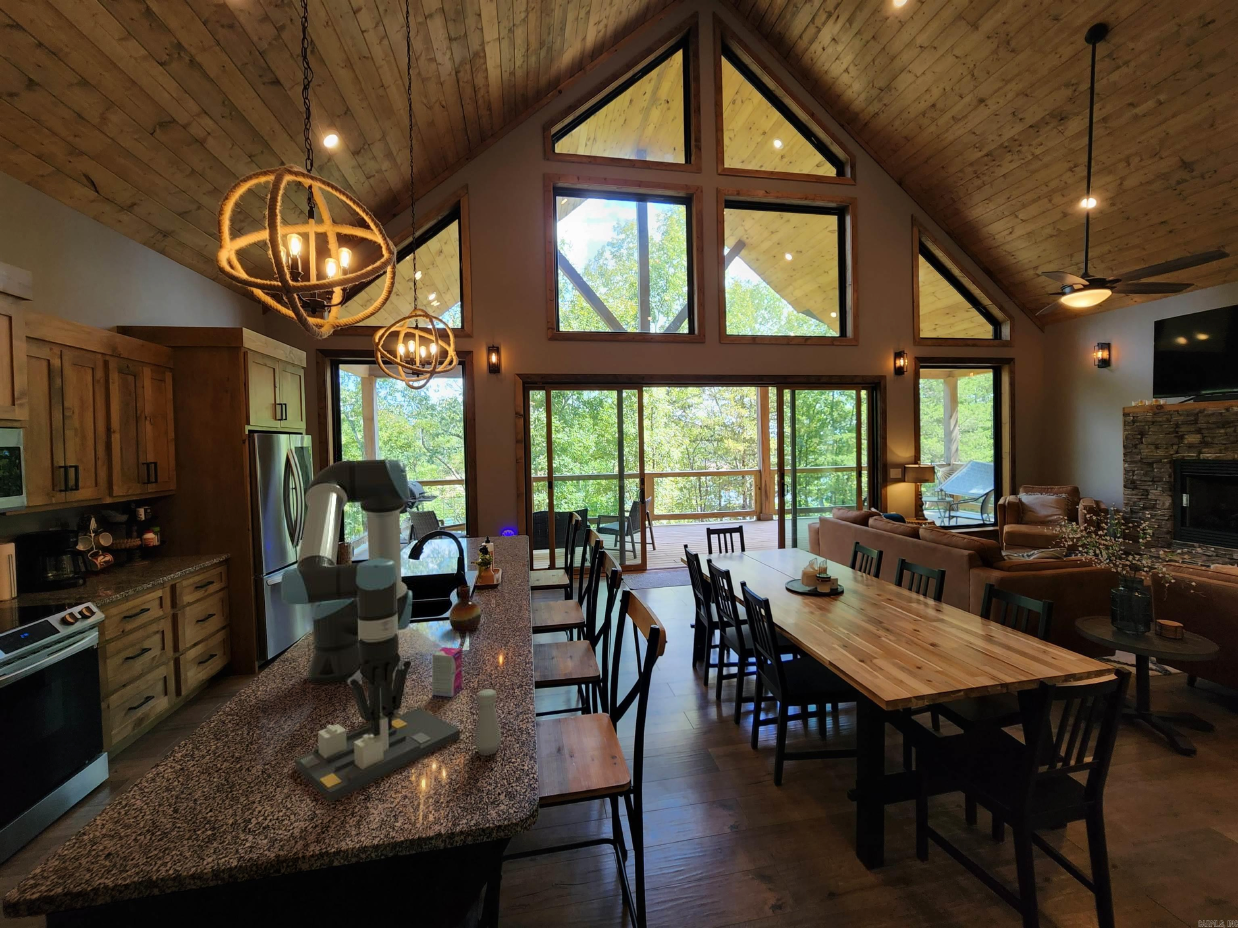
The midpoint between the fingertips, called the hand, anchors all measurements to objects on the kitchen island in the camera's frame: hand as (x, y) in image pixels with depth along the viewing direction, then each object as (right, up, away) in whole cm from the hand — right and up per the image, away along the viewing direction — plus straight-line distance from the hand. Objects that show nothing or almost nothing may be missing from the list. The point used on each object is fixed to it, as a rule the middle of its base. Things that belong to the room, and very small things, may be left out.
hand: (382, 747), depth 111 cm
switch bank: (-2, -4, +5) cm, 7 cm away
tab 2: (-2, -2, -2) cm, 3 cm away
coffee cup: (-9, -4, +22) cm, 24 cm away
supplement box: (+3, -3, +33) cm, 33 cm away
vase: (-7, -1, +84) cm, 84 cm away
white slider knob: (-11, -2, +2) cm, 12 cm away
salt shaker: (+21, -4, +6) cm, 22 cm away
